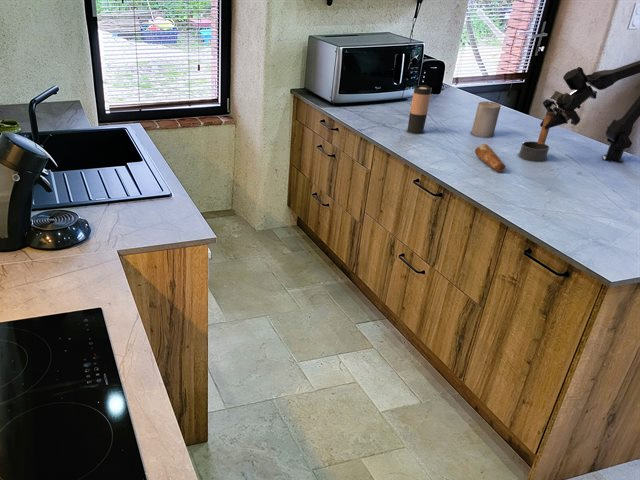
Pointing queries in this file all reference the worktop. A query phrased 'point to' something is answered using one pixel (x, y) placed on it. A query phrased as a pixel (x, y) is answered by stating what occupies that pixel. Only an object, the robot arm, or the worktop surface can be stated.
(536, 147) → the bowl
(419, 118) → the travel mug
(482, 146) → the bread
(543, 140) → the stick
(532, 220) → the worktop surface
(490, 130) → the pillar candle
